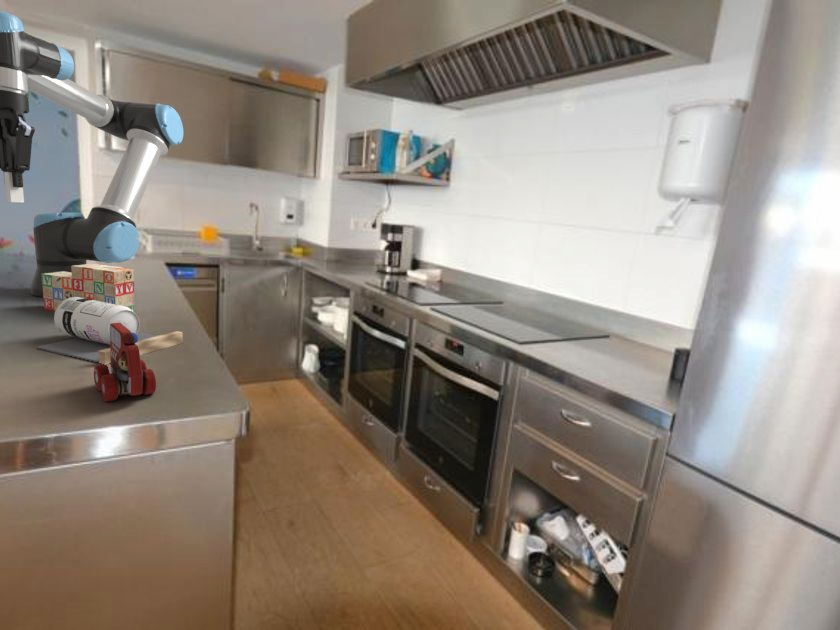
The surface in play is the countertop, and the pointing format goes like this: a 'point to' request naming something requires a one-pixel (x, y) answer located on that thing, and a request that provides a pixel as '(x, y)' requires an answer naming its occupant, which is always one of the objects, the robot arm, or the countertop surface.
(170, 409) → the countertop surface
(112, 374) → the toy fire truck
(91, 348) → the mat
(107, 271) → the stack of blocks
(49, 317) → the countertop surface
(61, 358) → the countertop surface
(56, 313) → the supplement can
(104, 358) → the stop rail
